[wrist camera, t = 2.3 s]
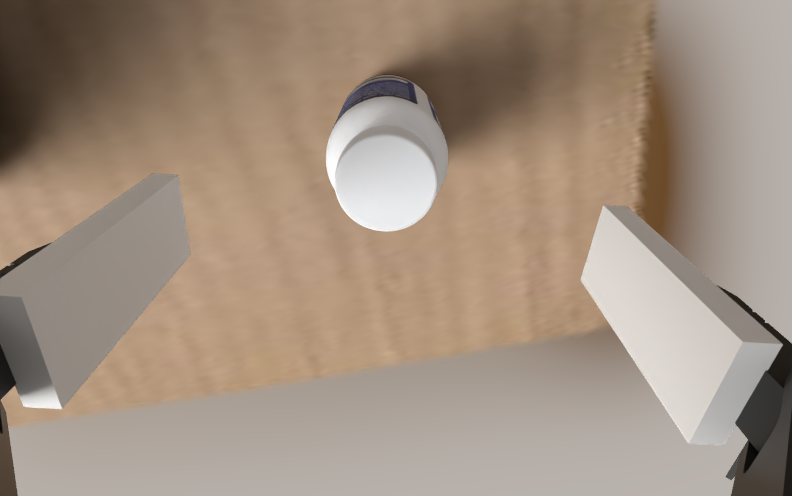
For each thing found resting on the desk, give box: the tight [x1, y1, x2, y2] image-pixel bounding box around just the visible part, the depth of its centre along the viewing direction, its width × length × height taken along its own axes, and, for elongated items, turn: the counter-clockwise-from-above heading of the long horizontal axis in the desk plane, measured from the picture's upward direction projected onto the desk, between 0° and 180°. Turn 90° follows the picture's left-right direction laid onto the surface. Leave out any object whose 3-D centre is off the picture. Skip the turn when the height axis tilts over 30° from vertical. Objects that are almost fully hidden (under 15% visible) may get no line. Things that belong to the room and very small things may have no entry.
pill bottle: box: [326, 75, 449, 231], centre depth 22 cm, size 5×5×10 cm
